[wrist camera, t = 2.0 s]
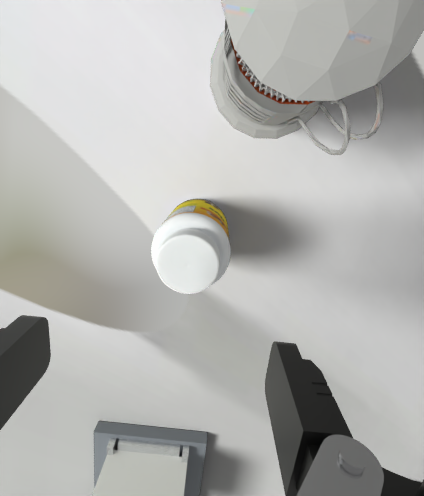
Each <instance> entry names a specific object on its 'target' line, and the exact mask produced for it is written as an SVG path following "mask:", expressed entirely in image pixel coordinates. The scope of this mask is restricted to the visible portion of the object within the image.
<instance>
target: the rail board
mask: <svg viewBox="0 0 424 496" xmlns="http://www.w3.org/2000/svg"><path fill="white" fill-rule="evenodd" d="M111 437H114V438H117V450H118V442H119V439H120V438H123V439H133V440H143V441H152V442H162V443H172V444H180V453H179V457H182V452H183V445H189V455H188V463H187V472H186V480H185V489H184V496H199V495H200V488H201V481H202V474H203V466H204V459H205V452H206V445H207V432H201V431H191V430H182V429H172V428H162V427H153V426H143V425H133V424H124V423H114V422H105V421H99V422H98V424H97V426H96V428H95V430H94V486H96V483H97V480H98V478H99V475H100V472H101V470H102V467H103V464H104V462H105V459H106V456H107V446H108V443H109V440H110V438H111Z"/></svg>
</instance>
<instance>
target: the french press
mask: <svg viewBox="0 0 424 496" xmlns="http://www.w3.org/2000/svg"><path fill="white" fill-rule="evenodd" d="M221 4H222V8H223V11H224V15H225V18H226V19H225V30H224V31H223V32H222V33H221V35H220V38H219V40H218V43H217V45H216V48H215V50H214V53H213V55H212V58H211V76H210V87H211V90H212V93H213V96H214V99H215V102H216V105H217V108H218V110H219V111H220V113H221V114H222V115H223V116H224V117H225V118H226V120H227V121H228V122H229V123H230V124H231V126H232V127H233V128H235V129H237V130H239V131H241V132H243V133H245V134H247V135H249V136H251V137H253V138H272V139H277V138H279V137H282V136H284V135H287V134H289V133H292V132H295V131H297V130H299V129H300V128H301V127H303V128H304V129H305V131H306V132H307V134H308V135H309V137H310V138H311V139H312V141H313V142H314V144H315V145H316V146H318V147H319V148H321V149H322V150H324V151H325V152H327V153H328V154H331V155H342V154H343V153H344V152H345V151H346V148H347V145H348V142H349V139H350V138H352V139H355V140H356V139H365V138H369V137H371V136H372V135H373V134H374V133H375V132H376V131H377V129H378V127H379V125H380V123H381V118H382V112H383V96H382V87H381V84H380V82H379V81H380V80H381V79H383V78H384V77H385V76H386V75H387V74H388V73H389V72H390V71H391V70H393V69H394V68H395V67H396V66H397V65H398V64H399V63H400V62H402V61H403V60H404V59H405V58H406V57H407V56H408V55H409V54H410V53H411V51H412V49H413V48H414V46H415V44H416V42H417V41H418V39H419V37H420V35H421V34H422V32H423V30H424V0H221ZM372 86H374V88H375V93H376V99H377V105H378V106H377V112H376V119H375V123H374V125H373V127H372V129H371V130H370V131H369V132H368V133H366V134H361V135H356V134H353V133H350V126H351V125H350V121H349V117H348V112H347V108H346V105H345V104H344V102H343V101H342V98H344V97H347V96H349V95H352V94H354V93H357V92H359V91H362V90H364V89H367V88H369V87H372ZM324 101H331V104H334V103H337V104H338V105H339V107H340V108H341V110H342V114H343V119H344V123H345V130H344V129H343V128H342V127H341V126H340V125H339V124H338V123H337V122H336V121H335V120H334V119H333V118H332V116H331V115H330V114H329V112H328V111H327V110H326V108H325V107H324V106H323V104H322V102H324ZM319 107H320V108H321V109H322V110H323V112H324V113H325V114H326V116H327V117H328V118H329V120H330V121H331V122H332V124H333V125H334V126H335V127H336V128H337V129H338V130H339V131H340V132H341V133H343V134H344V135H345V137H344V143H343V146H342V148H341V149H340V150H332V149H328V148H327V147H325V146H324V145H323V144H321V143H320V142H319V141H318V140H317V139H316V138H315V137H314V135H313V134H312V133H311V132H310V130H309V129H308V127H307V126H306V125H305V123H306V122H307V121H308V120H309V119H311V118H312V117H313V116H314V115H315V114H316V113H317V111H318V109H319Z"/></svg>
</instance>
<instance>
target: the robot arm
mask: <svg viewBox="0 0 424 496" xmlns="http://www.w3.org/2000/svg"><path fill="white" fill-rule="evenodd" d="M50 356H51V353H50V339H49V326H48V320H47V319H46V318H45V317H35V316H25V315H22V316H20V317H18V318H17V319H16V320H15V321H14V322H12V323H11V324H10V325H9V326H8V327H6V328H2V329H0V430H1V428H2V427H3V426H4V425H5V423H6V422H7V421H8V420H9V418H10V417H11V416H12V414H13V413H14V412H15V411H16V409H17V408H18V407H19V405H20V404H21V403H22V402H23V400H24V399H25V398H26V396H27V395H28V394H29V393H30V391H31V390H32V389H33V387H34V386H35V385H36V384H37V382H38V381H39V380H40V379H41V377H42V376H43V375H44V373H45V372H46V370H47V368H48V365H49V362H50ZM265 394H266V400H267V405H268V410H269V415H270V420H271V425H272V430H273V435H274V440H275V445H276V450H277V455H278V460H279V465H280V470H281V475H282V480H283V485H284V490H285V495H286V496H424V480H423V482H422V484H421V483H418V482H416V481H413V480H411V479H408V478H405V477H403V476H400V475H398V474H395V473H393V472H390V471H388V470H386V469H384V468H382V467H381V465H380V463H379V461H378V460H377V458H376V457H375V456H374V454H373V453H372V452H371V451H370V450H369V449H368V448H367V447H366V446H364V445H363V444H362V443H360V442H359V441H357V440H355V439H353V437H352V435H351V433H350V431H349V428H348V426H347V424H346V422H345V420H344V418H343V416H342V414H341V412H340V409H339V407H338V405H337V403H336V401H335V399H334V397H332V393H331V390H330V388H329V386H327V382H326V380H325V378H324V376H323V374H322V372H321V370H320V369H319V368H318V367H317V366H316V365H315V364H314V363H313V362H312V361H311V360H305V359H302V357H301V355H300V352H299V350H298V348H297V345H296V344H294V343H284V342H273V344H272V348H271V353H270V358H269V363H268V368H267V373H266V379H265Z"/></svg>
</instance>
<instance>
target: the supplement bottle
mask: <svg viewBox="0 0 424 496" xmlns="http://www.w3.org/2000/svg"><path fill="white" fill-rule="evenodd" d="M151 254H152V260H153V263H154V266H155V268H156V270H157V272H158V274H159V277H160V278H161V280H162V281H163V283H164V284H165V285H167V286H168V287H169V288H170V289H172V290H174V291H176V292H180V293H184V294H194V293H198V292H201V291H203V290H205V289H207V288H208V287H209V286H210V285H212V284H213V283H215V282H216V281H217V280H219V279H220V278H221V277H222V275H223V274H224V273H225V271H226V269H227V267H228V265H229V262H230V256H231V247H230V240H229V232H228V225H227V221H226V218H225V216H224V214H223V212H222V211H221V210H220V209H219V208H218V207H217V206H216V205H215V204H213V203H211V202H209V201H207V200H203V199H191V200H187V201H185V202H183V203H181V204H180V205H178V206H177V207H176V208H175V209H174V210H173V212H172V213H171V214H170V215H169V216H168V217H167V219H166V220H165V221H164V222H163V223H162V225H161V226H160V227H159V228H158V230H157V232H156V234H155V236H154V238H153V242H152V246H151Z"/></svg>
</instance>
